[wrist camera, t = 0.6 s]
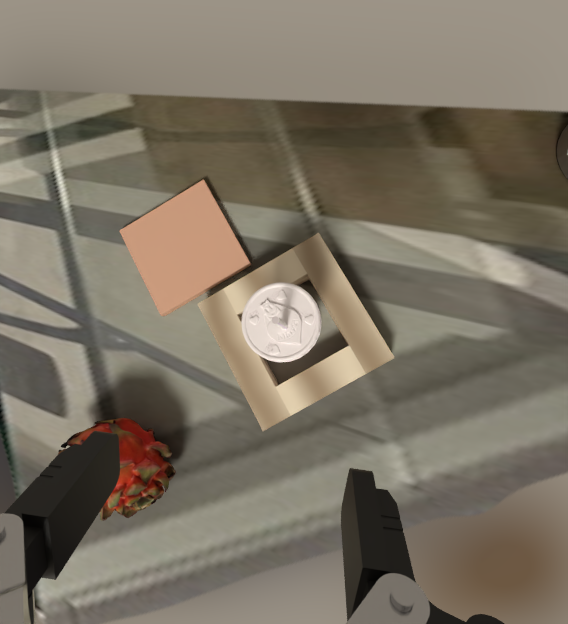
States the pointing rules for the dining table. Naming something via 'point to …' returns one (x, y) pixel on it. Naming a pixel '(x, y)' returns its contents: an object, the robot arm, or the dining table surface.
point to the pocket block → (320, 377)
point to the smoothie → (281, 322)
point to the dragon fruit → (133, 466)
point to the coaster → (184, 248)
